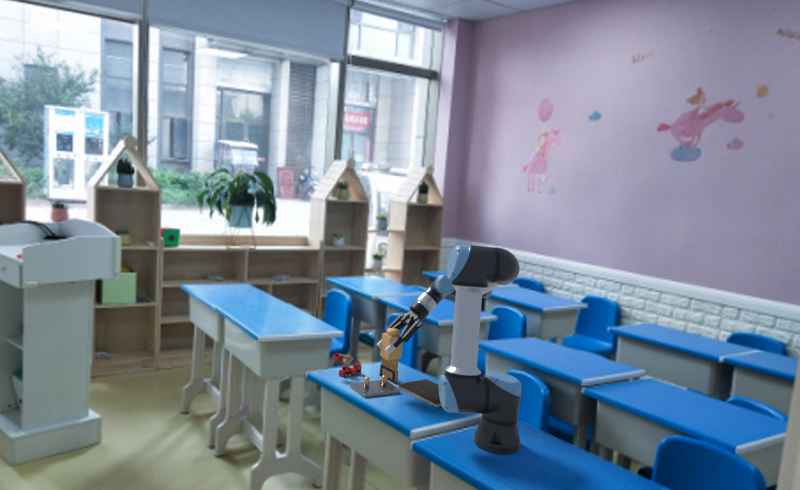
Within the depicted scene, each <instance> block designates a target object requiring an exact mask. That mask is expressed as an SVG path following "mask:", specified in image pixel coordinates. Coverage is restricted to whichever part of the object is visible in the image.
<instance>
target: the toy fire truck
mask: <svg viewBox="0 0 800 490" xmlns="http://www.w3.org/2000/svg"><path fill="white" fill-rule="evenodd" d="M331 358H332V360H334V361H335V362H342V361H343V358H344V359H346V360H345V362H344V364H342V367H341V369H339V370H338V375H339V376H341V377H345V378H347V377H351V376H353V375H354V376H355V375H357V376H359V375H360V374H362V368H363V367H362V365H361V364H360V363H359V362H354V363H352V361H353V360H354V358H355V357H353V356H351V355H348V354H341V353H335V354H333V355H332V357H331ZM351 363H352V364H353V367H350V364H351Z"/></svg>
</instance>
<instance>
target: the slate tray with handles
mask: <svg viewBox="0 0 800 490" xmlns="http://www.w3.org/2000/svg"><path fill="white" fill-rule="evenodd" d="M349 388H351V389H352V390H353V389H354V391H355V392H356V391H357V392H358V393H357V392H356V393H357V394H358V395H360V394H361V395H362V396H361V395H360V396H361V397H363V396H364V397H366V398H370V397H371V398H372V396H374V397H380V396H381V395H382V396H389V395H398V394H400V393H401V389H399V387H397V386H395V385H394V383H392V382H390V381H388V380H387V375H382V377H381V379H378V380H370V376H364V380H363V381H359V382H350V383H349ZM382 396H381V397H382ZM364 397H363V398H364Z"/></svg>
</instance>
